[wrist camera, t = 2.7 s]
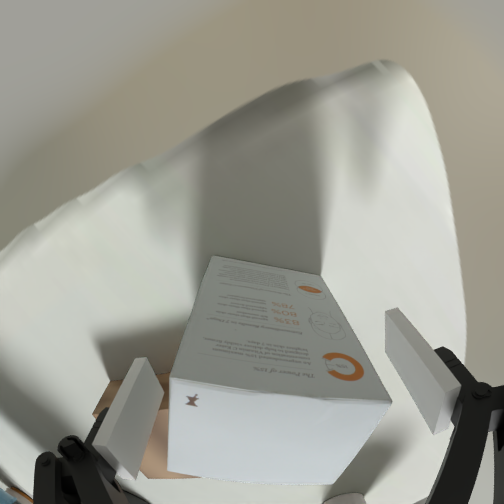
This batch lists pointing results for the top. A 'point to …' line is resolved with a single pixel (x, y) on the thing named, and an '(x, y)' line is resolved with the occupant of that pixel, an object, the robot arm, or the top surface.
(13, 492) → the lamp
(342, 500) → the coffee cup
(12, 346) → the top surface
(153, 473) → the walnut block
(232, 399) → the small box
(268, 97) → the top surface
